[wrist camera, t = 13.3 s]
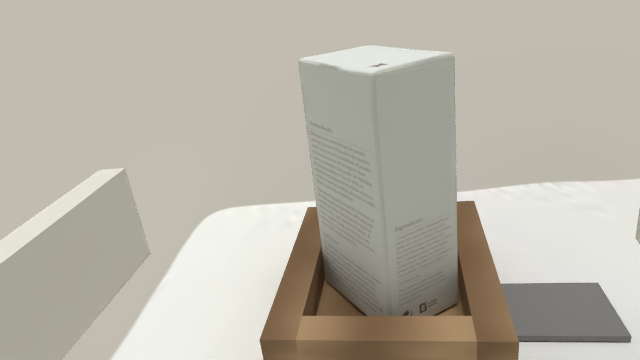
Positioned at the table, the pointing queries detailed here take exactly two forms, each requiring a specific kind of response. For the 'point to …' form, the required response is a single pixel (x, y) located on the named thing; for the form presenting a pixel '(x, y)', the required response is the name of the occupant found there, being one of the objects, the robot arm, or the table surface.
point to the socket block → (389, 331)
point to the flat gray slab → (563, 313)
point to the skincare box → (385, 175)
